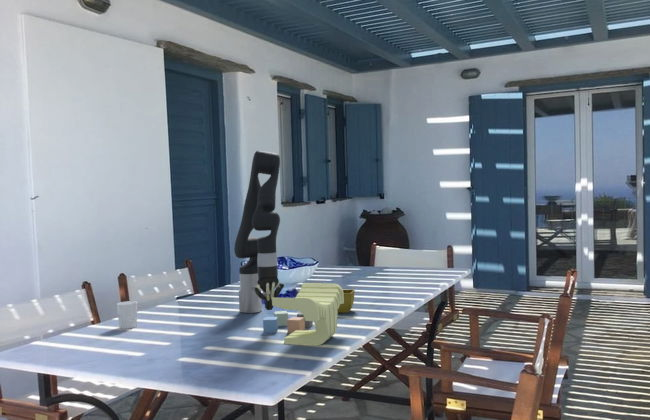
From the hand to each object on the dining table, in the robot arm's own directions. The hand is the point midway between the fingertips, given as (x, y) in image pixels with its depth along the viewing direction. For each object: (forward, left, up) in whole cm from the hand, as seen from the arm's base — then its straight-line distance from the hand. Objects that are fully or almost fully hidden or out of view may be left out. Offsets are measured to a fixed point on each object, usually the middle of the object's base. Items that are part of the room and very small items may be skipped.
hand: (269, 309), depth 226 cm
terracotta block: (+10, 0, -8) cm, 13 cm away
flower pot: (+22, +36, -8) cm, 43 cm away
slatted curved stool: (+19, -12, -8) cm, 24 cm away
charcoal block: (+11, +10, -8) cm, 17 cm away
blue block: (0, 0, -8) cm, 8 cm away
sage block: (+1, +11, -8) cm, 14 cm away
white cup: (-62, +4, -8) cm, 62 cm away
